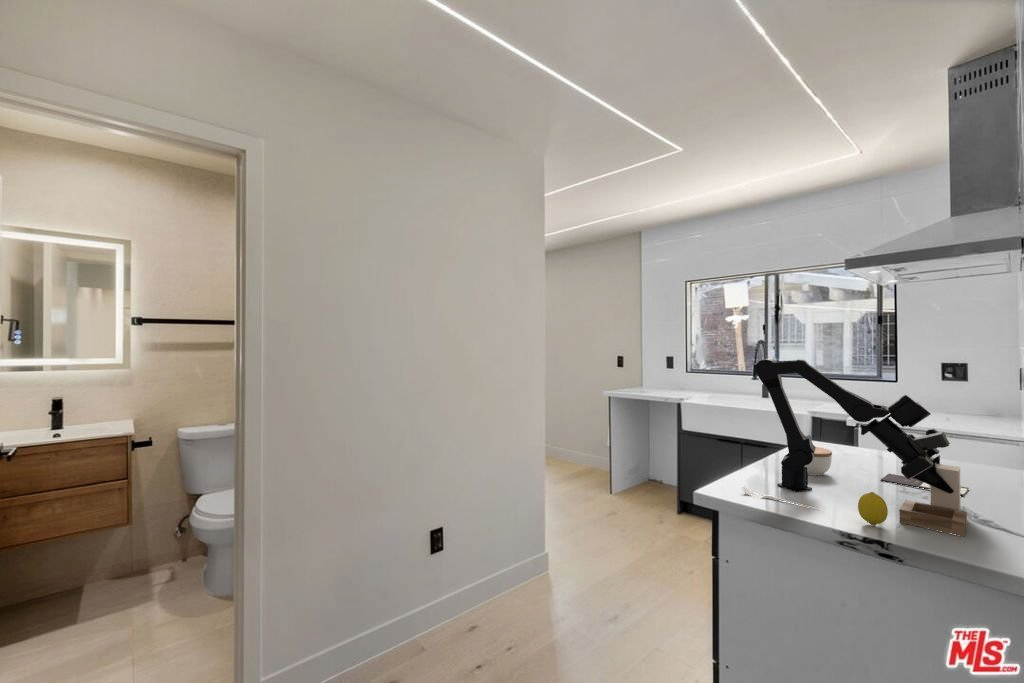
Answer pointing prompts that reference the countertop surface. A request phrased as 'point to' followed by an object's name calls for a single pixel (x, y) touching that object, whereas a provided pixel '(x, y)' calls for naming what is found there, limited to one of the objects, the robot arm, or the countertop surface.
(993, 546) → the countertop surface
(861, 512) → the lemon
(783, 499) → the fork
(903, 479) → the chocolate bar
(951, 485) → the clay bar
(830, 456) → the lidded jar
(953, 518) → the tray
